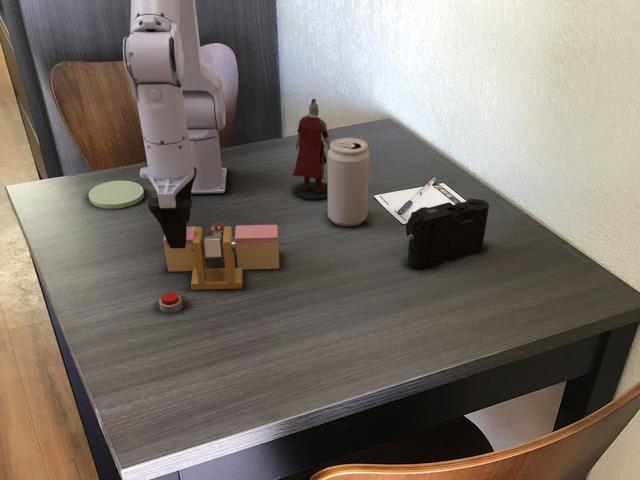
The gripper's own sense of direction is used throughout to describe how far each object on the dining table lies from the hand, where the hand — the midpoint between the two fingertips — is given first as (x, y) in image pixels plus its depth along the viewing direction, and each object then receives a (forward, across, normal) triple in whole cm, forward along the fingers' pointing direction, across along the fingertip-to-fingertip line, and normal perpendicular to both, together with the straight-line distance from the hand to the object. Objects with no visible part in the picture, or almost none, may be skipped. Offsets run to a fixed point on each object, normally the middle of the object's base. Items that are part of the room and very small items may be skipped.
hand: (180, 233), depth 103 cm
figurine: (+5, -23, +20) cm, 31 cm away
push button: (+5, +11, -1) cm, 12 cm away
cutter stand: (+5, +5, +5) cm, 9 cm away
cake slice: (+5, 0, 0) cm, 5 cm away
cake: (+5, 0, +11) cm, 12 cm away
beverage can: (+5, -13, +25) cm, 29 cm away
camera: (+5, -2, +38) cm, 38 cm away
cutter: (+2, 0, +5) cm, 6 cm away
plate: (+5, -23, -13) cm, 27 cm away
